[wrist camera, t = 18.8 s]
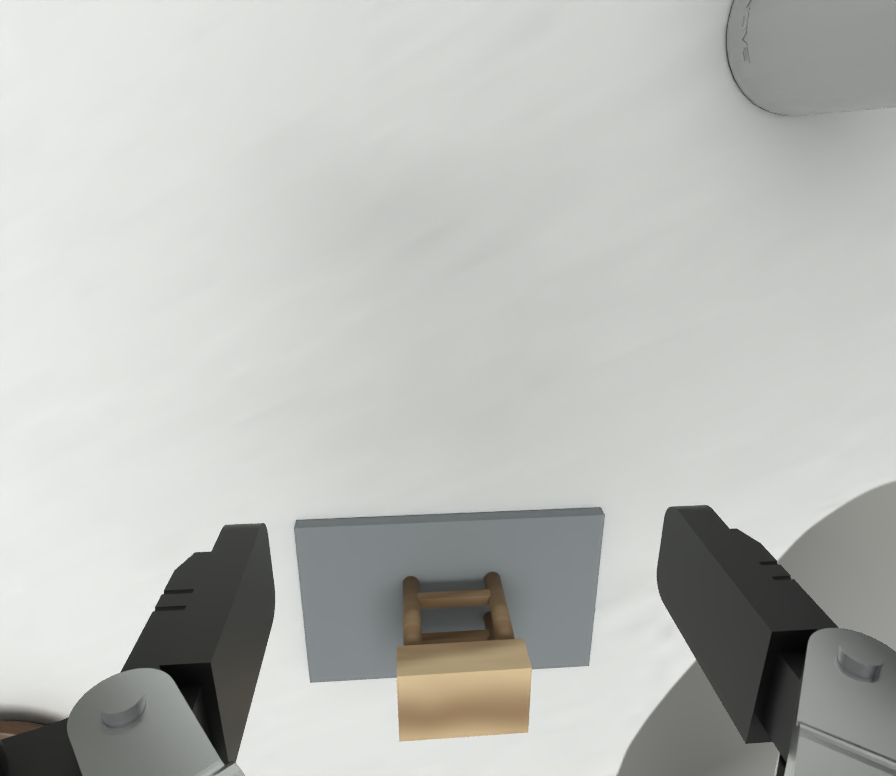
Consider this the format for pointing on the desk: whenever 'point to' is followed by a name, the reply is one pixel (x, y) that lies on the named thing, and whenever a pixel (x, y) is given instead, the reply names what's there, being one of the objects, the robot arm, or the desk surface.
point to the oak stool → (461, 669)
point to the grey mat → (446, 583)
